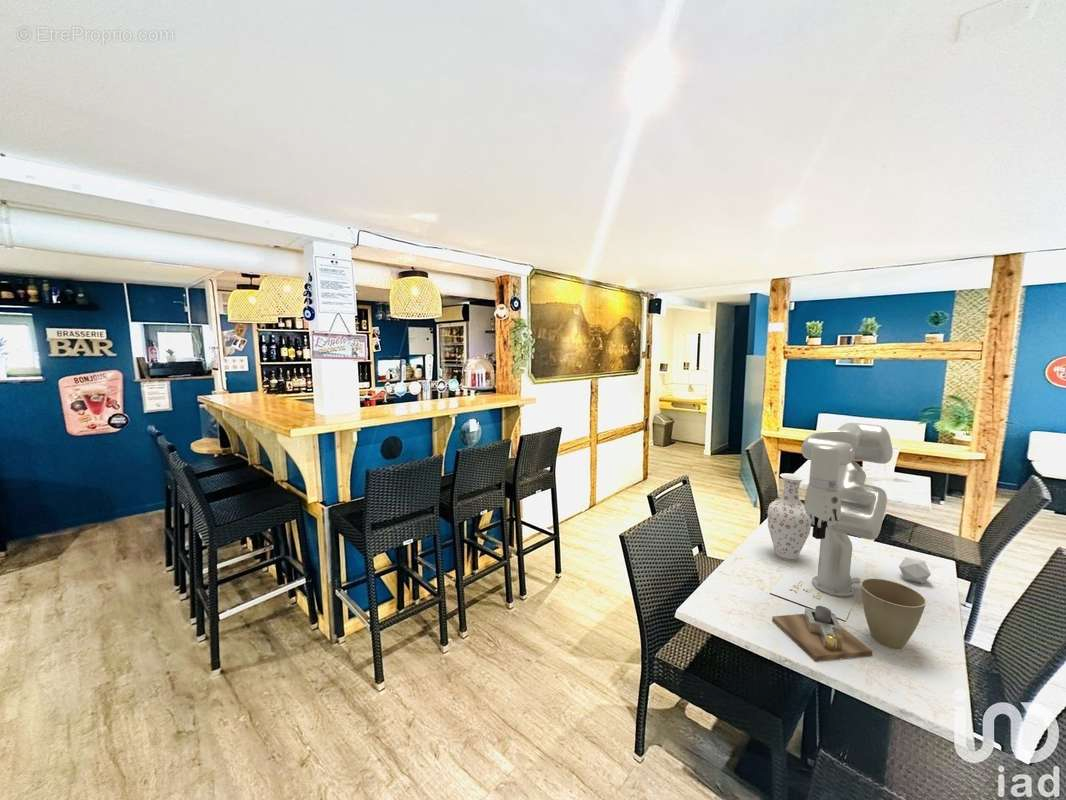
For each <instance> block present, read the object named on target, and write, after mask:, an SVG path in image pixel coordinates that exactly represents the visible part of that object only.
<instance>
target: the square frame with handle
mask: <svg viewBox="0 0 1066 800" xmlns="http://www.w3.org/2000/svg"><path fill="white" fill-rule="evenodd" d="M815 610H816V609H813V608H807V607H805V608H804V614H805V615H804V617H805V620H806V623H807V626H808V629H809V632H814V633H818V634H819V635H820V637H821V640H822V643H823V646H824V647H826V648H827V649H828V650H831V651H835V650H836V649H837V638H836V634H840V635H841V632H842V629H841V627H842V625H840V622H839V621H838V618H837V616H836V613H832V612H831V621H830V624H827V623H822V622H817V621H815Z"/></svg>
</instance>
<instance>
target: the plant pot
mask: <svg viewBox="0 0 1066 800" xmlns="http://www.w3.org/2000/svg"><path fill="white" fill-rule="evenodd" d="M860 593H861V602H862V608H863V611H864V615H865V619H866V623H867V626H868V629H869V632H870V635H871V637H872V639H873V640H874V641H875V642H877V643H878V644H880V645H882V646H884V647H887V648H888V649H889V648H890V649H893V650H899V649H900V650H901V649H903V648H904V647H905V646H906V644H907V643H908V642H909V640H910V639H911V637H912V635H913V634H914V632H915V630H916V629H917V628H918V626H919V622H920V621H921V619H922V616H923V614H924V613H923V612H924V610H925V607H926V604H927V600H926V598H925V597H924V595H922V594H921V593H919V591H916V589H913V588H912V587H909V586H907V585H905V584H902V583H899V582H897V581H893V580H889V579H885V578H884V579H883V578H877V577H876V578H874V577H872V578H865V579H862V580H861V582H860Z"/></svg>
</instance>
